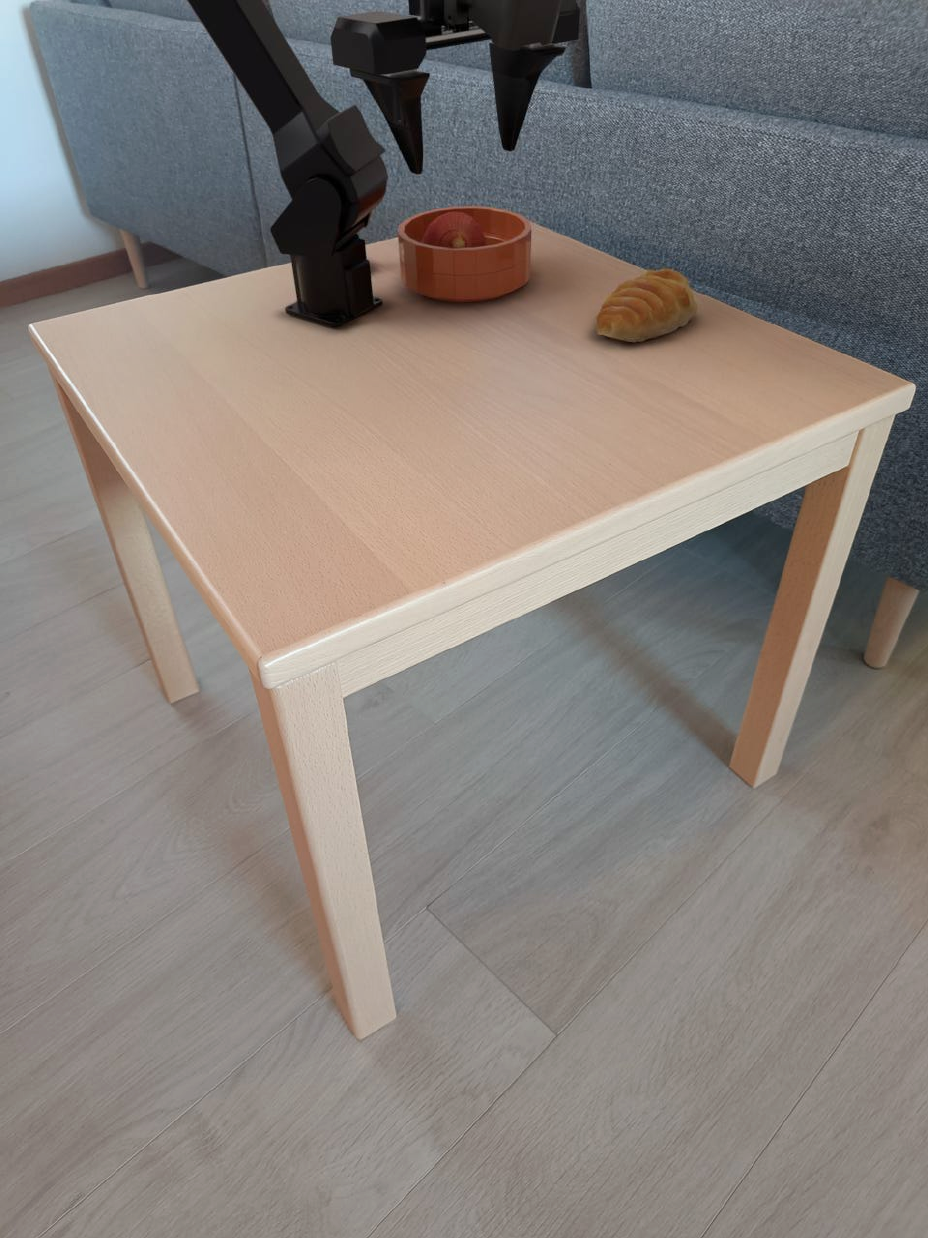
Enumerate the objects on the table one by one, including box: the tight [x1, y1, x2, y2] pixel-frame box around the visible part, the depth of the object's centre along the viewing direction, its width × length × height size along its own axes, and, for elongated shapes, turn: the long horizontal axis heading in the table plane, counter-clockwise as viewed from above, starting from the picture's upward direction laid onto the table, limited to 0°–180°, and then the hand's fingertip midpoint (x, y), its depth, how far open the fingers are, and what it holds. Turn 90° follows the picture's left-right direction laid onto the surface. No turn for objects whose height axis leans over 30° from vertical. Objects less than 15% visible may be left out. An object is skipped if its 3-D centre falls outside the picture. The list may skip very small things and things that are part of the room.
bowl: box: [397, 205, 532, 303], centre depth 83 cm, size 12×12×5 cm
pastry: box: [595, 268, 699, 344], centre depth 75 cm, size 9×7×4 cm
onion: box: [423, 212, 486, 248], centre depth 82 cm, size 6×6×8 cm
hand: (463, 161), depth 69 cm, fingers open, 9 cm apart
